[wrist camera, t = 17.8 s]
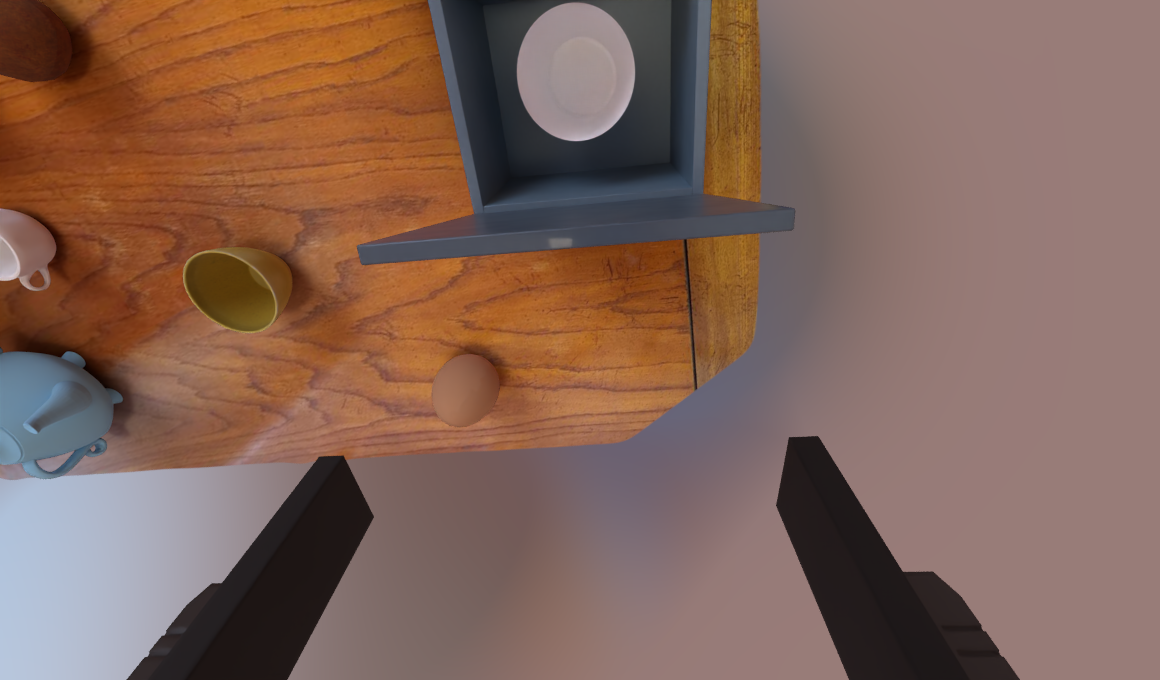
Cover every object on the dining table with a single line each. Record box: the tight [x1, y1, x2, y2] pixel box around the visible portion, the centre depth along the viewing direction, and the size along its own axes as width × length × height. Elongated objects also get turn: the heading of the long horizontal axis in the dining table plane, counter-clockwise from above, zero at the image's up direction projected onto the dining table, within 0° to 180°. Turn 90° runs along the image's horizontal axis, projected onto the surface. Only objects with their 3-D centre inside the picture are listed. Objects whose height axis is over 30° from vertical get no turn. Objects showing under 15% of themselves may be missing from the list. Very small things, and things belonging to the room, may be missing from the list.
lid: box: [357, 194, 795, 265], centre depth 27 cm, size 18×19×1 cm
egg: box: [432, 354, 500, 427], centre depth 56 cm, size 8×8×11 cm
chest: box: [428, 0, 712, 214], centre depth 37 cm, size 17×19×14 cm
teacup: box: [0, 209, 56, 291], centre depth 52 cm, size 10×8×5 cm
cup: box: [517, 3, 635, 141], centre depth 37 cm, size 9×9×12 cm
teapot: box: [0, 347, 123, 479], centre depth 60 cm, size 16×20×14 cm
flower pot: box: [183, 247, 292, 333], centre depth 52 cm, size 10×10×7 cm
